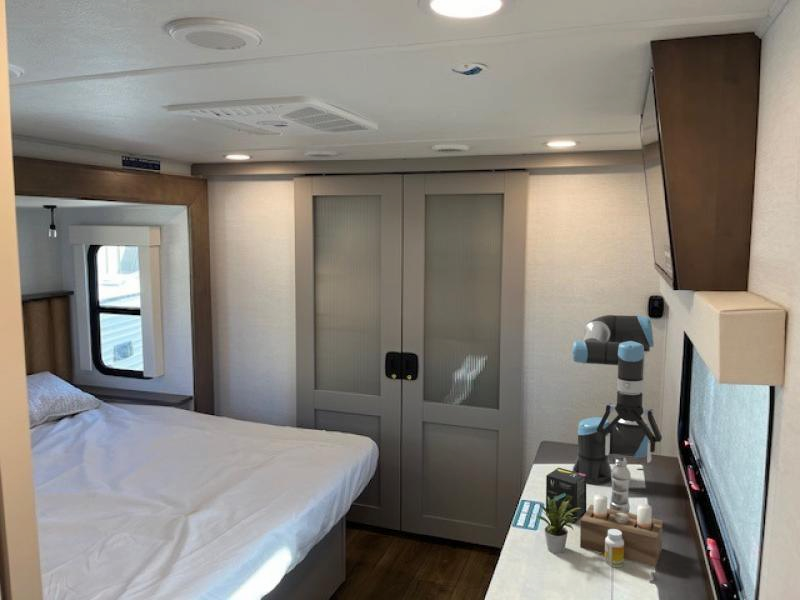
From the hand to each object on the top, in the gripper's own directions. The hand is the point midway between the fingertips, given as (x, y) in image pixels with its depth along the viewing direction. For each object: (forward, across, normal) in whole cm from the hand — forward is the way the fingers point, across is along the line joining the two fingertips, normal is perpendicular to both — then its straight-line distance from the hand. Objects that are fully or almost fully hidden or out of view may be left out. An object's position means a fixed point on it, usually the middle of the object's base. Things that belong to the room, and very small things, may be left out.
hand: (627, 457), depth 194 cm
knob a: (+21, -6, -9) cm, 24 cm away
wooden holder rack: (+26, 0, -9) cm, 28 cm away
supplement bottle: (+26, 0, -18) cm, 32 cm away
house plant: (+26, -16, -21) cm, 37 cm away
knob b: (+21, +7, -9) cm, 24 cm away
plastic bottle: (+26, -5, +13) cm, 30 cm away
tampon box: (+26, -21, +4) cm, 34 cm away
